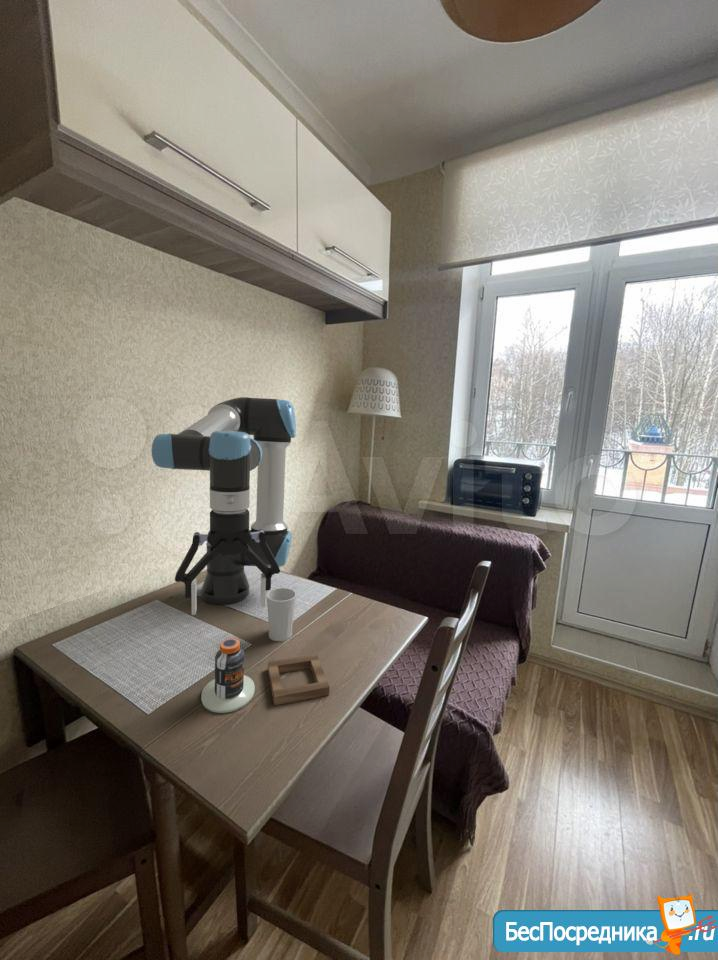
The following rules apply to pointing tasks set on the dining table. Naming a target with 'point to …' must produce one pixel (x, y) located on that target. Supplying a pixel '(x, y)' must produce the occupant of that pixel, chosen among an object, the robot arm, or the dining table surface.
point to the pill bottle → (229, 669)
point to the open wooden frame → (297, 692)
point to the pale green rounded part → (227, 705)
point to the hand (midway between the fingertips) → (229, 607)
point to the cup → (280, 613)
